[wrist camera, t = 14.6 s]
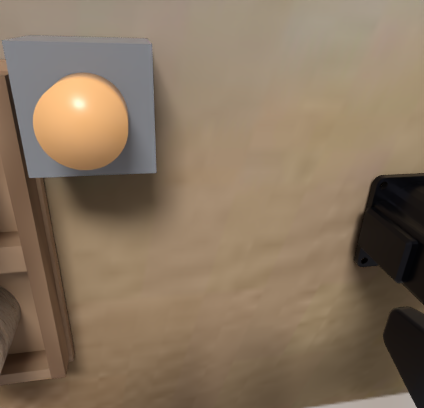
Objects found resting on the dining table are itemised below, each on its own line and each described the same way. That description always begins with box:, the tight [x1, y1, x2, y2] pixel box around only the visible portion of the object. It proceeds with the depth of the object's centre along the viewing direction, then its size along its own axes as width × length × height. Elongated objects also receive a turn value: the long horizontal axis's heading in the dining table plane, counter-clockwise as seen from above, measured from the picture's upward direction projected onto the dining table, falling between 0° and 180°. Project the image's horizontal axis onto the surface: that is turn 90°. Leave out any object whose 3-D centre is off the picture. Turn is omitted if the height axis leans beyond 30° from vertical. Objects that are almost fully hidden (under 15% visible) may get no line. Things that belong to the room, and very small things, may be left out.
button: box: [33, 72, 128, 170], centre depth 13 cm, size 3×3×2 cm
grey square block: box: [2, 35, 156, 178], centre depth 16 cm, size 5×5×4 cm
